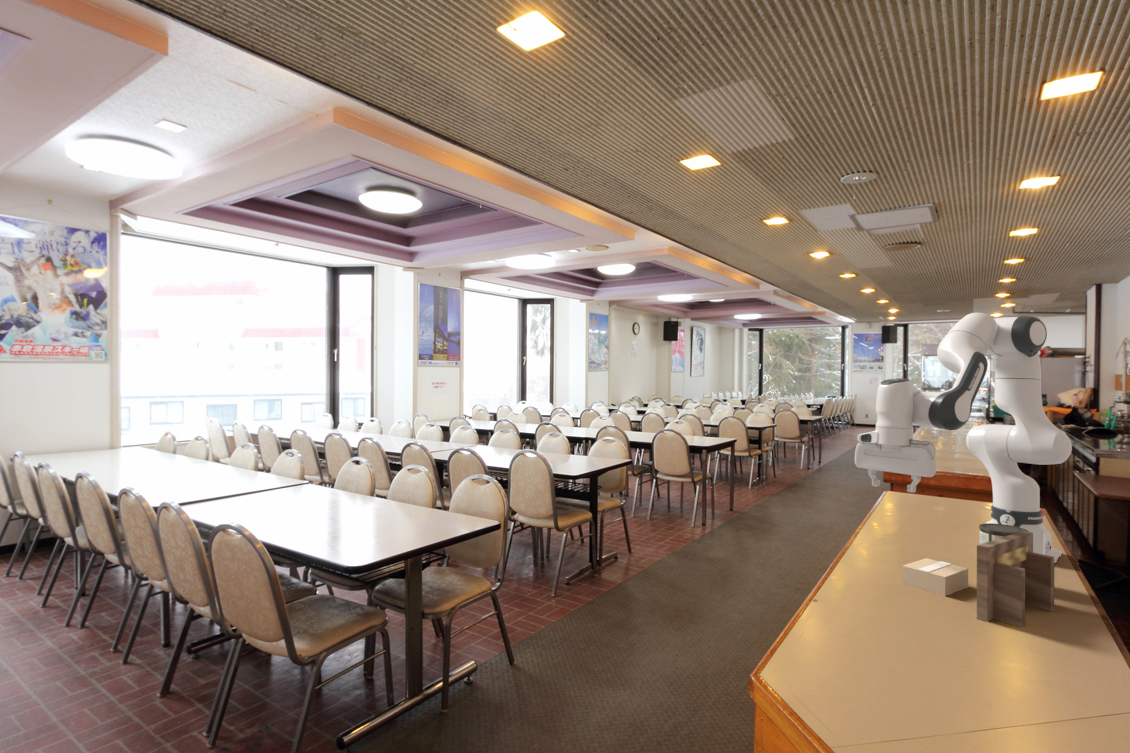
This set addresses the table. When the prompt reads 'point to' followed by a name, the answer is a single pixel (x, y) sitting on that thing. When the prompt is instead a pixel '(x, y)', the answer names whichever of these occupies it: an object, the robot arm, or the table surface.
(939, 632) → the table surface
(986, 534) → the coffee can
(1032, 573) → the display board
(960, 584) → the carton
